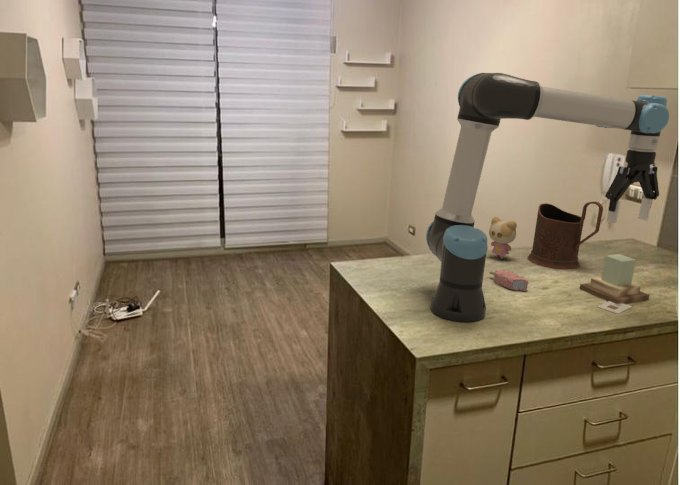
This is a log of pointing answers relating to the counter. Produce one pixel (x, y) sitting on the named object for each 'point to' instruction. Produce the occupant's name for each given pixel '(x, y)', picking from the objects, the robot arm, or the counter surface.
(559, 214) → the cup holder
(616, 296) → the base brick
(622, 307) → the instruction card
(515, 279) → the ice cream bar
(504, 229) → the toy
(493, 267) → the counter surface
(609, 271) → the sage brick
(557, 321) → the counter surface
